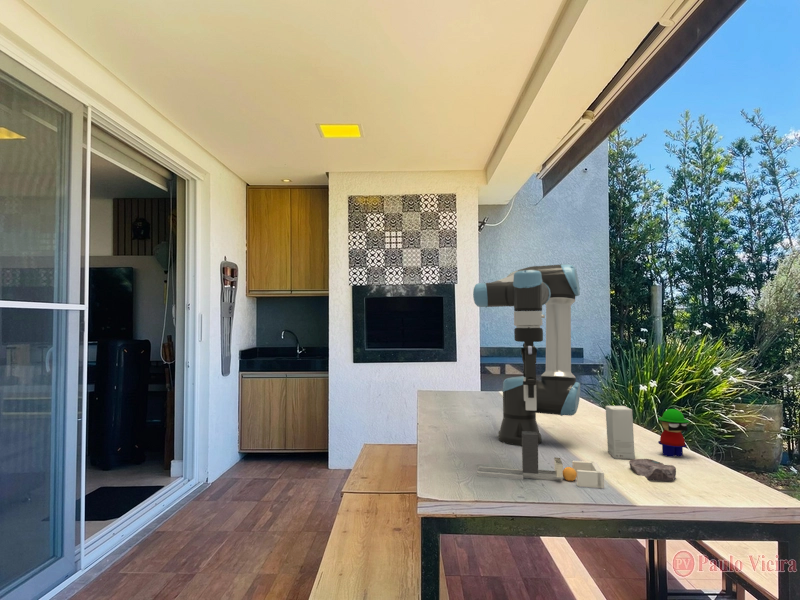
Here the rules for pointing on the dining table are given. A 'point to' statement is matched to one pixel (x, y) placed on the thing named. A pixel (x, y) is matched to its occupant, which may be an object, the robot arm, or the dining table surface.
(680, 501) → the dining table surface
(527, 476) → the dark textured box
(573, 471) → the ball
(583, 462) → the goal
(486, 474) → the pitch
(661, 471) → the rock
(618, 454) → the skincare box
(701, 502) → the dining table surface
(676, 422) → the toy
